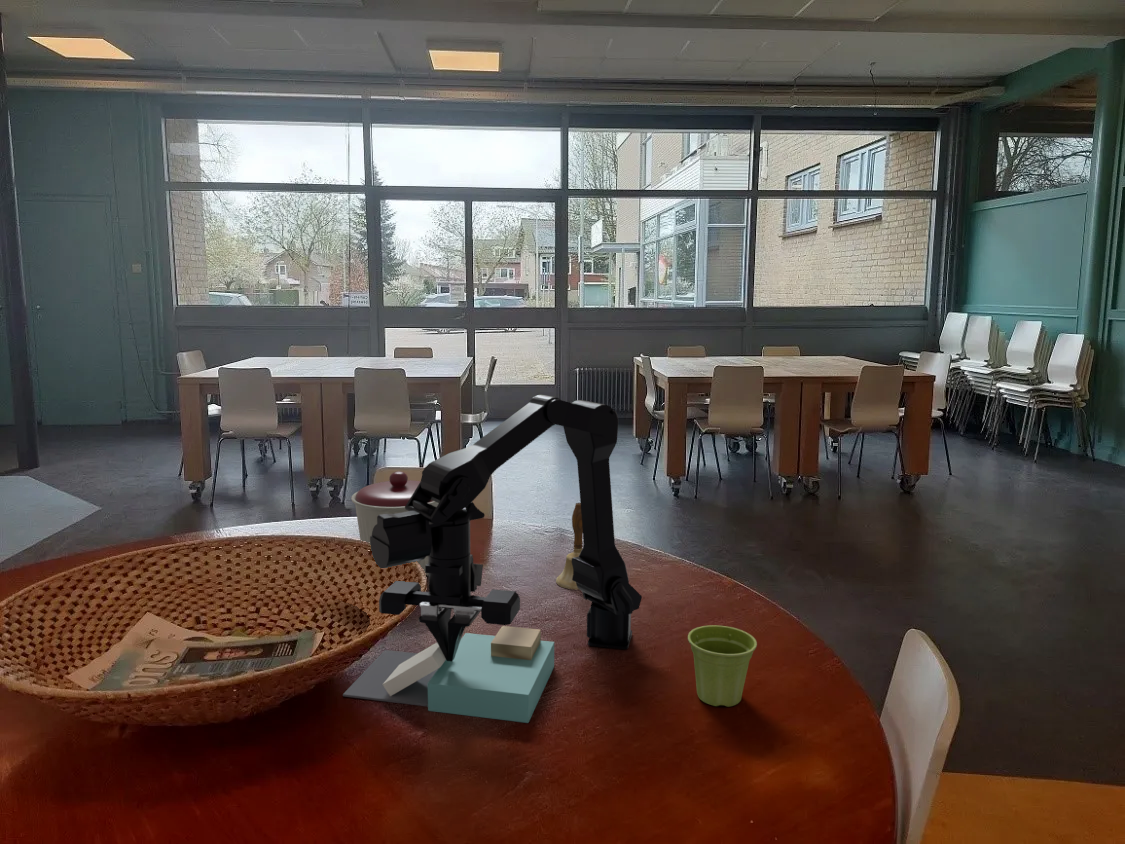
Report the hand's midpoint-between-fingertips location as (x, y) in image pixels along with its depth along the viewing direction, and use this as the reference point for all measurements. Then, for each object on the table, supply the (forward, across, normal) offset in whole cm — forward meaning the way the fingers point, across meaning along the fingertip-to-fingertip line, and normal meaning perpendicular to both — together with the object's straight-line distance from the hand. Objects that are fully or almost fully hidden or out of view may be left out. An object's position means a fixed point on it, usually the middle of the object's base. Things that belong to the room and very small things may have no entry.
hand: (450, 660), depth 109 cm
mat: (+5, +8, -3) cm, 10 cm away
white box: (+2, +4, 0) cm, 5 cm away
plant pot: (+5, -37, -8) cm, 38 cm away
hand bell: (+5, -10, -46) cm, 47 cm away
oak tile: (+1, -8, -8) cm, 11 cm away
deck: (+5, -6, -3) cm, 8 cm away
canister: (+5, +25, -42) cm, 50 cm away
